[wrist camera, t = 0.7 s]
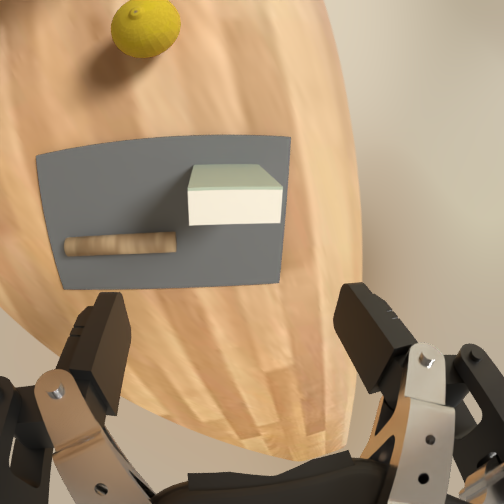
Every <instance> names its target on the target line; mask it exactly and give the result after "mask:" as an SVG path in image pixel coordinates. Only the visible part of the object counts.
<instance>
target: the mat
mask: <svg viewBox="0 0 504 504" xmlns="http://www.w3.org/2000/svg"><path fill="white" fill-rule="evenodd" d="M290 144H291V137H284V136H264V135H191V136H171V137H156V138H144V139H134V140H125V141H116V142H109V143H101V144H94V145H88V146H82V147H76V148H70V149H65V150H60V151H55V152H50V153H46V154H41V155H37V156H36V162H37V171H38V180H39V187H40V193H41V200H42V205H43V211H44V216H45V221H46V226H47V230H48V235H49V239H50V243H51V247H52V251H53V255H54V258H55V262H56V266H57V269H58V272H59V276H60V279H61V282H62V285H63V288H64V289H72V290H92V289H157V288H189V287H214V286H235V285H254V284H271V283H279V280H280V270H281V260H282V249H283V238H284V226H285V214H286V202H287V188H288V175H289V160H290ZM208 164H259V165H260V166H261V167H262V168H263V169H264V170H265V171H266V172H267V173H269V174H270V175H271V176H272V177H273V178H274V179H275V180H276V181H277V182H278V183H279V184H280V185H282V186H283V193H282V207H281V220H280V223H257V224H219V225H190V226H189V210H188V185H189V181H190V177H191V173H192V170H193V166H194V165H208ZM155 232H176V240H177V249H176V252H168V253H143V254H118V255H93V256H69V257H68V256H67V255H66V254H65V251H64V242H65V239H66V238H68V237H83V236H99V235H116V234H134V233H155Z"/></svg>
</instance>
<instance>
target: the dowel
mask: <svg viewBox="0 0 504 504" xmlns="http://www.w3.org/2000/svg"><path fill="white" fill-rule="evenodd" d="M176 249H177V240H176V232H155V233H134V234H116V235H99V236H83V237H68V238H66V239H65V242H64V251H65V254H66V255H67V256H68V257H69V256H93V255H118V254H143V253H168V252H176Z"/></svg>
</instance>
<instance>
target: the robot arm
mask: <svg viewBox="0 0 504 504" xmlns="http://www.w3.org/2000/svg"><path fill="white" fill-rule="evenodd" d="M333 323H334V329H335V331H336V333H337V335H338V337H339V339H340V340H341V342H342V344H343V346H344V348H345V350H346V351H347V353H348V355H349V357H350V359H351V361H352V363H353V364H354V366H355V368H356V370H357V372H358V374H359V376H360V378H361V380H362V382H363V383H364V385H365V387H366V389H367V391H368V393H369V394H372V393H376V392H379V391H381V393H382V394H383V396H382V397H381V399H380V402H379V406H378V410H377V414H376V417H375V421H374V425H373V428H372V432H371V435H370V439H369V441H368V443H367V445H366V447H365V449H364V450H363V452H362V454H361V456H360V458H351V455H350V453H349V451H348V450H347V451H343V452H340V453H336V454H333V455H329V456H325V457H321V458H317V459H312V460H310V461H308V462H306V463H304V464H302V465H300V466H298V467H295V468H293V469H291V470H289V471H286V472H284V473H282V474H279V475H276V476H261V475H250V474H242V473H234V472H219V473H188V481H186V482H182V483H179V484H176V485H173V486H170V487H168V488H166V489H164V490H163V491H161V492H159V493H157V494H156V493H155V492H154V491H153V490H152V488H151V487H150V486H149V485H148V484H147V483H146V482H145V480H144V479H143V478H142V477H141V476H140V474H139V473H138V472H137V471H136V470H135V468H134V467H133V466H132V465H131V463H130V462H129V461H128V459H127V458H126V456H125V455H124V453H123V452H122V451H121V449H120V448H119V446H118V445H117V443H116V442H115V440H114V439H113V437H112V436H111V434H110V433H109V431H108V430H107V428H106V426H105V425H104V424H105V418H106V415H111V416H117V411H118V405H119V399H120V393H121V388H122V382H123V377H124V372H125V367H126V362H127V357H128V352H129V348H130V343H131V327H130V323H129V319H128V316H127V312H126V308H125V304H124V300H123V296H122V294H121V293H120V292H101V293H99V295H98V297H97V299H96V302H95V304H94V306H87V307H86V308H85V309H84V310H83V311H82V312H81V313H80V314H79V315H78V317H77V320H76V322H75V324H74V328H72V330H71V333H70V337H68V340H67V342H66V344H65V347H64V349H63V351H62V354H61V356H60V359H59V361H58V364H57V366H56V369H54V370H50V371H47V372H46V373H44V374H43V375H42V376H41V377H40V378H39V379H38V380H37V382H36V384H35V385H33V386H26V387H18V388H15V387H14V386H13V384H12V383H11V382H10V380H9V379H8V378H6V377H2V376H0V504H48V497H49V482H50V470H51V462H52V457H53V461H54V463H55V466H56V468H57V470H58V472H59V474H60V476H61V478H62V480H63V482H64V484H65V485H66V487H67V489H68V491H69V492H70V495H71V496H72V498H73V500H74V501H75V503H76V504H504V377H503V375H502V374H501V372H500V371H499V370H498V368H497V367H496V366H495V364H494V363H493V362H492V360H491V359H490V358H489V356H488V355H487V354H486V352H485V351H484V350H483V349H482V348H480V347H479V346H477V345H474V344H465V345H463V346H462V348H461V349H460V351H459V353H458V354H457V355H443V354H442V353H441V351H440V350H439V349H437V348H436V347H435V346H433V345H431V344H428V343H418V342H417V341H416V339H415V338H414V337H413V335H412V334H411V333H410V331H409V330H408V329H407V328H406V326H405V325H404V324H403V323H402V321H401V320H400V319H398V316H397V315H396V314H395V313H394V312H392V309H391V308H390V306H389V305H388V304H387V303H386V302H385V301H384V300H383V299H381V298H380V297H378V296H377V295H375V294H372V292H371V291H370V290H369V289H368V287H367V286H366V285H365V284H364V283H362V282H359V283H347V284H343V286H342V287H341V290H340V294H339V298H338V302H337V306H336V309H335V313H334V318H333ZM469 391H470V392H471V394H472V395H473V397H474V398H475V400H476V402H477V403H478V405H479V407H480V408H481V410H482V420H481V422H480V423H479V424H478V425H477V424H476V422H475V420H474V418H473V417H472V415H471V413H470V412H469V410H468V408H467V406H466V405H465V403H464V401H463V399H464V397H465V396H466V395H467V394H468V393H469ZM13 437H15V438H16V439H15V444H14V449H13V454H12V460H11V466H10V467H9V456H10V451H11V446H12V441H13ZM53 448H55V451H56V452H55V453H53ZM452 456H453V458H454V460H455V462H456V464H457V467H458V469H459V471H460V473H461V476H462V478H463V480H464V483H465V487H464V488H463V489H461V491H460V492H459V498H460V499H459V498H456V497H453V496H451V495H448V494H447V489H448V484H449V478H450V471H451V464H452Z"/></svg>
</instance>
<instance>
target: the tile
mask: <svg viewBox="0 0 504 504" xmlns="http://www.w3.org/2000/svg"><path fill="white" fill-rule="evenodd" d="M282 193H283V186H282V185H280V184H279V183H278V182H277V181H276V180H275V179H274V178H273V177H272V176H271V175H270V174H269V173H267V172H266V171H265V170H264V169H263V168H262V167H261V166H260V165H259V164H208V165H194V166H193V170H192V173H191V177H190V181H189V185H188V210H189V226H190V225H219V224H257V223H280V220H281V207H282Z"/></svg>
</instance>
